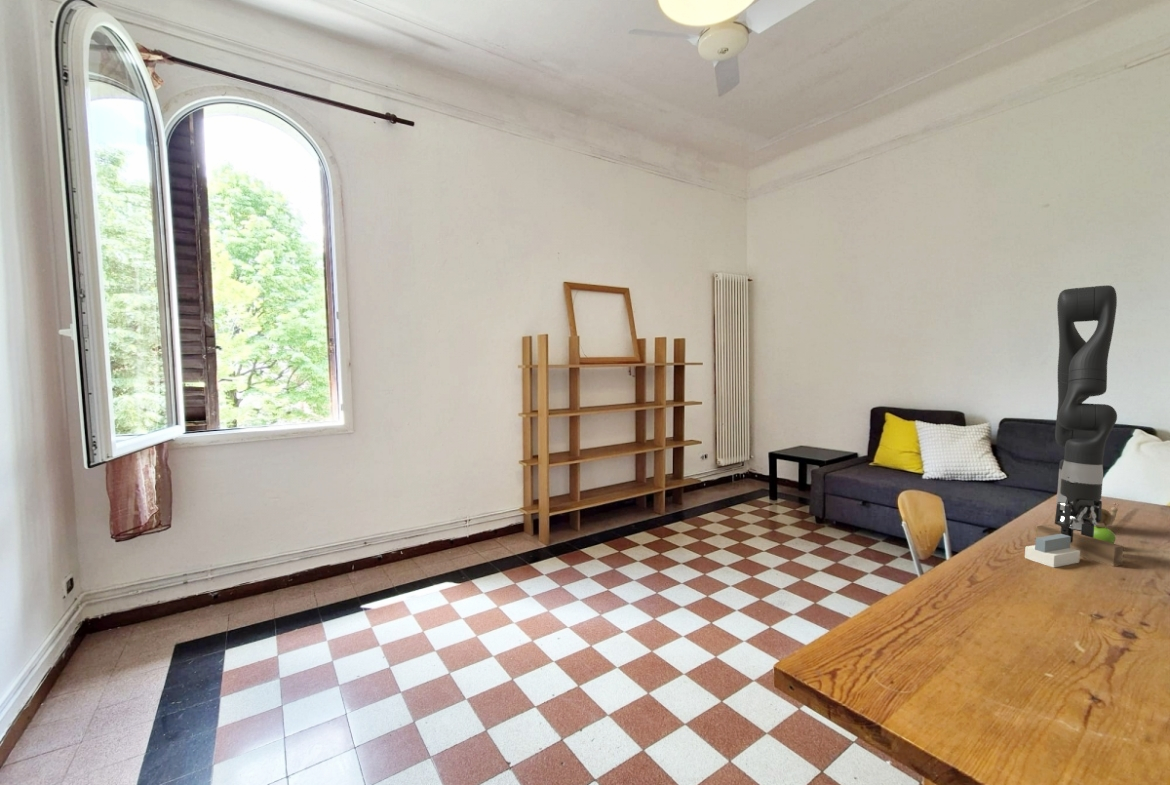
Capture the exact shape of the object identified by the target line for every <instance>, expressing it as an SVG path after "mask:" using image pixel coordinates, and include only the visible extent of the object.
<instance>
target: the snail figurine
mask: <svg viewBox="0 0 1170 785" xmlns="http://www.w3.org/2000/svg"><path fill="white" fill-rule="evenodd" d="M1113 505H1114V506H1112V507H1110V511H1108V510H1107V509H1105V508H1102V511H1101V522H1100V523H1098V522H1097V524H1096V526H1094V536H1093V538H1096V539H1099V540H1103V541H1107V542H1110V543H1114V544H1115V542H1116V534H1115V533H1114V531H1112V530H1111V529H1109V528H1108V527H1110V526H1111V525H1113V523H1114V521H1115V519H1116V518H1117V517H1116V516H1117V512H1118V511H1119V509H1118V508H1119V506H1120V504H1119V503H1116V502H1113ZM1116 506H1117V507H1116ZM1095 515H1096V513H1095Z"/></svg>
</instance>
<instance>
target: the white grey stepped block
mask: <svg viewBox="0 0 1170 785" xmlns="http://www.w3.org/2000/svg"><path fill="white" fill-rule="evenodd" d="M1034 542H1035V544H1034V545H1027V546H1025V550H1024V558H1025V559H1027V560H1030V561H1033V562H1036V563H1039V564H1042V565H1045V566H1048V567H1050V568H1058V567H1063V566H1064V567H1065V566H1069V565H1074V564H1079V563H1080V558H1081V556H1080V551H1079V550H1076V549H1072V548H1070V542H1071V536H1068V535H1064V534H1056V535H1050V536H1044V537H1038V538H1036V537H1035V541H1034Z"/></svg>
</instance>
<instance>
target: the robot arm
mask: <svg viewBox="0 0 1170 785" xmlns="http://www.w3.org/2000/svg"><path fill="white" fill-rule="evenodd" d="M1117 297H1118V296H1117V292H1116V288H1115V287H1114V286H1112V285H1096V286H1086V287H1084V286H1083V287H1075V288H1067V289H1063V290H1062V291H1061V292H1060V293H1059V295H1058V298H1057V304H1056V305H1057V309H1056V310H1057V322H1058V323H1057V324H1058V326H1057V327H1058V357H1057V358H1058V360H1057V395H1058V396H1057V397H1058V398H1057V410H1056V418H1055V419H1056V420H1055V430H1054V436H1055V437H1054V439H1055V442H1056V445H1058V446H1059V447H1062V448H1064V457H1063V458H1062V459H1061V460H1060V461H1059V464H1058V465H1059V467H1058V480H1057V494H1056V506H1055V507H1056V508H1055V517H1054V525H1058V526H1059V527H1060V529H1061V534H1064V535H1068V536H1071V542H1070V543H1072V542H1073V532H1074V530H1077V531H1080V534H1081V535H1085V536H1088V537H1092V538H1093V536H1094V526H1096V524H1097V522H1098V523H1100V522H1101V511H1102V509H1103V508H1102V506H1103V501H1102V492H1103V478H1104V455H1105V448H1106V442H1107V441H1108V438H1109V436H1110V434H1111V432H1112V430H1113V428H1114V427H1115V424H1116V422H1117V420H1118V414H1117V411H1116V409H1115V408H1114V407H1113V406H1112V405H1110V404H1105V403H1104V404H1103V403H1085V401H1086V400H1087V399H1089V398H1091V397H1097V396H1098V397H1099V396H1102V395H1104V394H1105V393H1106V392H1107V388H1108V386H1107V385H1108V384H1107V383H1108V360H1109V353H1110V349H1111V348H1110V347H1111V343H1112V338H1113V333H1114V327H1115V321H1116V313H1117V306H1118V305H1117V303H1118V300H1117V299H1118V298H1117ZM1093 321H1096V322H1097V325H1096V328H1095V330H1094V332H1093V333H1092V335H1091V336H1090V337H1089V339H1088V340H1087V341H1086V340H1085V339H1084V338H1083V337H1082V336H1081V334H1080V333H1079V330H1078V329H1077V328H1076V324H1075V323H1080V322H1081V323H1082V322H1093ZM1095 513H1096V515H1095Z"/></svg>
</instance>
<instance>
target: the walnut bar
mask: <svg viewBox="0 0 1170 785" xmlns="http://www.w3.org/2000/svg"><path fill="white" fill-rule="evenodd" d="M1056 534H1061V528H1059V527H1054V526H1051V525H1047V524H1043V525H1037V526H1036V536H1035V539H1036V538H1038V537H1044V536H1050V535H1056ZM1070 548H1072V549H1076V550H1079V551H1080V558H1084V559H1088V560H1092V561H1094V562H1097V563H1100V564H1103V565H1108V566H1110V567H1117V566H1121V565H1123V556H1124V555H1123V554H1124V545H1121V544H1118V543H1115V542H1114V543H1110V542H1107V541H1103V540H1099V539H1096V538H1092V537H1088V536H1085V535H1081V533H1076V532H1074V531H1073V542H1072V543H1070Z"/></svg>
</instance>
